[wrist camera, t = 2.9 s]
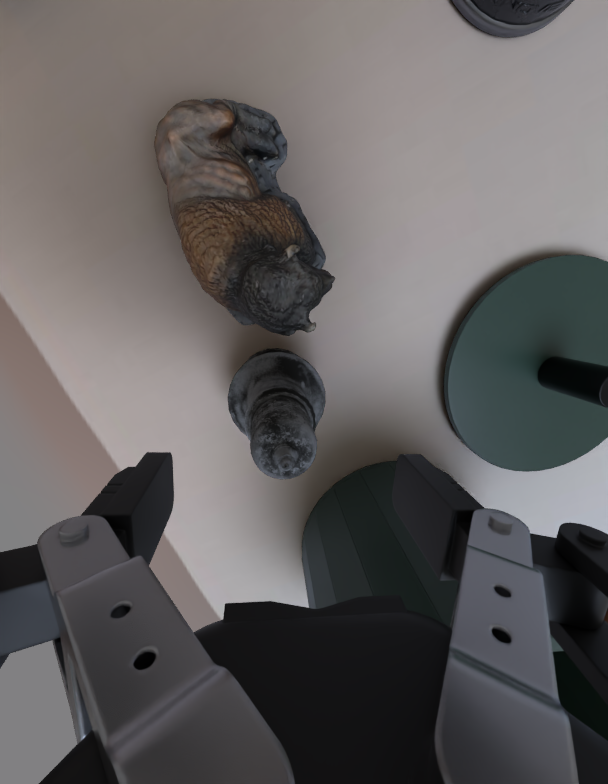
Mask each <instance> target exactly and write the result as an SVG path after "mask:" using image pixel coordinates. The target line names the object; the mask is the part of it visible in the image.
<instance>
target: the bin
mask: <svg viewBox="0 0 608 784" xmlns="http://www.w3.org/2000/svg"><path fill="white" fill-rule="evenodd" d="M396 463H397V461H391V462H384V463H378V464H374V465H371V466H368V467H365V468H362V469H360V470H358V471H355V472H353V473H352V474H350V475H348V476H346V477H345V478H343V479H342V480H340V481H339V482H338V483H336V484H335V485H334V486H333V487H331V488H330V489H329V490H328V491H327V492H326V493H325V494H324V495H323V497H322V498H321V499H320V500H319V501H318V503H317V504H316V506H315V507H314V509H313V511H312V512H311V514H310V516H309V519H308V521H307V523H306V526H305V530H304V533H303V540H302V562H303V569H304V576H305V583H306V589H307V596H308V603H309V608H312V609H320V608H324V607H327V606H330V605H334V604H337V603H340V602H344V601H347V600H350V599H354V598H357V597H366V596H385V595H400V596H401V598H402V600H403V603H404V605H405V607H406V609H407V610H410V611H414V612H418V613H421V614H424V615H427V616H429V617H432V618H434V619H436V620H438V621H440V622H442V623H444V624H446V625H447V626H449V627H450V623H451V618H452V612H453V607H454V602H455V597H456V592H457V587H458V582H457V580H447V581H440V580H439V579H438V577H437V576H436V574H435V573H434V571H433V569H432V568H431V566H430V565H429V563H428V562H427V560H426V558H425V557H424V555H423V554H422V552H421V550H420V549H419V547H418V546H417V544H416V543H415V541H414V539H413V538H412V536H411V535H410V533H409V531H408V530H407V528H406V527H405V525H404V524H403V522H402V520H401V519H400V517H399V516H398V514H397V513H396V511H395V509H394V506H393V501H392V491H393V484H394V477H395V470H396ZM464 491H465V490H464ZM550 635H551V634H550ZM551 643H552V651H553V658H554V666H555V674H556V682H557V690H558V697H559V701H560V704H561V706H562V707H563V708H565V710H566V711H567V712H569V713H570V714H571V715H573V716H574V717H576V718H577V719H578V720H580V721H581V722H582V723H584V724H585V725H587V726H588V727H589V728H591V729H592V730H594V731H595V732H596V733H598V734H599V735H600V736H602V737H603V738H605V739H606V740H607V741H608V705H607V704H606V703H605V702H604V700H603V699H602V698H601V697H600V695H599V694H598V693H597V692H596V690H595V689H594V688H593V687H592V685H591V684H590V683H589V682H588V680H587V679H586V678H585V677H584V675H583V674H582V673H581V672H580V670H579V669H578V668H577V667H576V665H575V664H574V663H573V662H572V660H571V659H570V658H569V657H568V655H567V654H566V653H565V652H564V650H563V649H562V648H561V647H560V645H559V644H558V643H557V642H556V640H555V639H554V638H553V637H552V635H551Z"/></svg>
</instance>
